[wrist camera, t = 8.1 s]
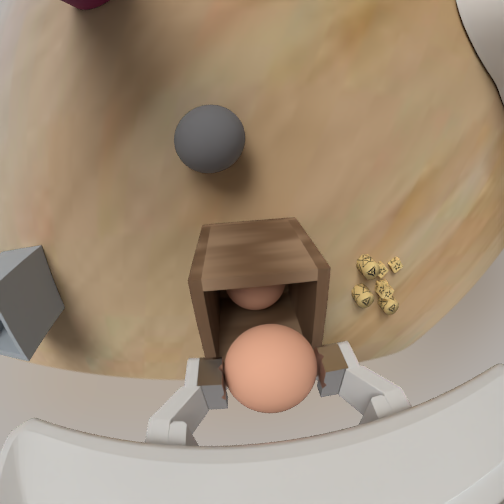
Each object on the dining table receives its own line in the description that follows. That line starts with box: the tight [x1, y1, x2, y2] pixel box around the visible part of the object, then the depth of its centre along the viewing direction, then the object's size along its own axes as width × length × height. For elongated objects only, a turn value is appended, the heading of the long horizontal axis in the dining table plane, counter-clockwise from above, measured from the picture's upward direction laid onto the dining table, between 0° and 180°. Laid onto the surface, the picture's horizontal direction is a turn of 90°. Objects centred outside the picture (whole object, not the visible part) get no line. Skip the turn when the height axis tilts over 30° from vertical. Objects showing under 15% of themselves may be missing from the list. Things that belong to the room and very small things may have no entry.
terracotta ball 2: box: [224, 324, 317, 413], centre depth 11 cm, size 4×4×4 cm
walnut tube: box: [188, 218, 330, 362], centre depth 17 cm, size 6×6×7 cm
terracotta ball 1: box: [226, 284, 285, 310], centre depth 18 cm, size 4×4×4 cm
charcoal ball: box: [174, 105, 245, 173], centre depth 14 cm, size 4×4×4 cm
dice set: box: [352, 255, 403, 315], centre depth 21 cm, size 5×5×2 cm
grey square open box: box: [0, 245, 65, 361], centre depth 16 cm, size 6×6×7 cm
